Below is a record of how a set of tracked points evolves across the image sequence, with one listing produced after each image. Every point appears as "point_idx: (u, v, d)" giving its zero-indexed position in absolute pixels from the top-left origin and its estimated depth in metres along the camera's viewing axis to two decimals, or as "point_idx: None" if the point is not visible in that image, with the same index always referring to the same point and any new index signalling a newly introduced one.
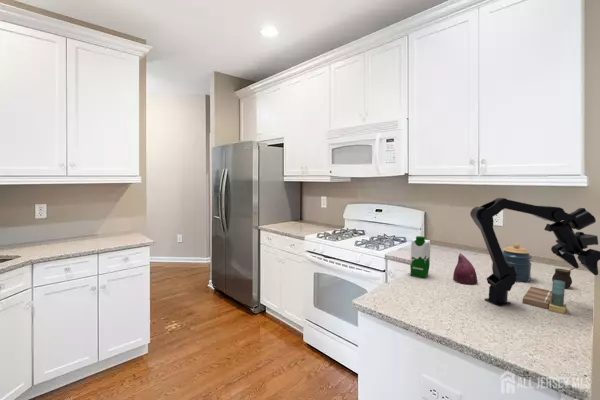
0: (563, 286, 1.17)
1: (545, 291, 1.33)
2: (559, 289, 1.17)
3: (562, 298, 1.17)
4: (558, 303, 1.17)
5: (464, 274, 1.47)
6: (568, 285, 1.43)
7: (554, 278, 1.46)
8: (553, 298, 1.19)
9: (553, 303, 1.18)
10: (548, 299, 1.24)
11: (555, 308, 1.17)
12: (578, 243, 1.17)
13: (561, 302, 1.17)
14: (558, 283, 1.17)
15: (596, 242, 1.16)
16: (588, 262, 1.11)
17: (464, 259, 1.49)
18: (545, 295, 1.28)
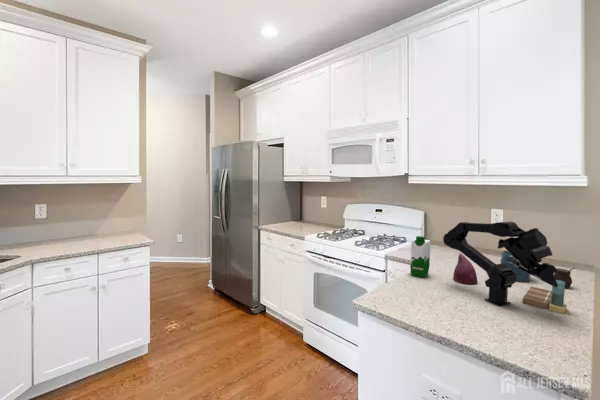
0: (563, 286, 1.17)
1: (545, 291, 1.33)
2: (559, 289, 1.17)
3: (562, 298, 1.17)
4: (558, 303, 1.17)
5: (464, 274, 1.47)
6: (568, 285, 1.43)
7: None
8: (553, 298, 1.19)
9: (553, 303, 1.18)
10: (548, 299, 1.24)
11: (555, 308, 1.17)
12: (532, 258, 1.16)
13: (561, 302, 1.17)
14: (558, 283, 1.17)
15: (549, 253, 1.15)
16: (543, 278, 1.10)
17: (464, 259, 1.49)
18: (545, 295, 1.28)
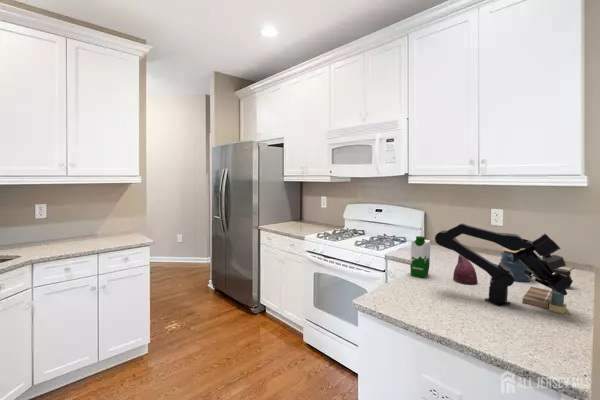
0: None
1: (545, 291, 1.33)
2: None
3: (562, 298, 1.17)
4: (558, 303, 1.17)
5: (464, 274, 1.47)
6: (568, 285, 1.43)
7: None
8: (553, 298, 1.19)
9: (553, 303, 1.18)
10: (548, 299, 1.24)
11: (555, 308, 1.17)
12: (546, 268, 1.16)
13: (561, 302, 1.17)
14: None
15: (563, 264, 1.16)
16: (559, 290, 1.10)
17: (464, 259, 1.49)
18: (545, 295, 1.28)
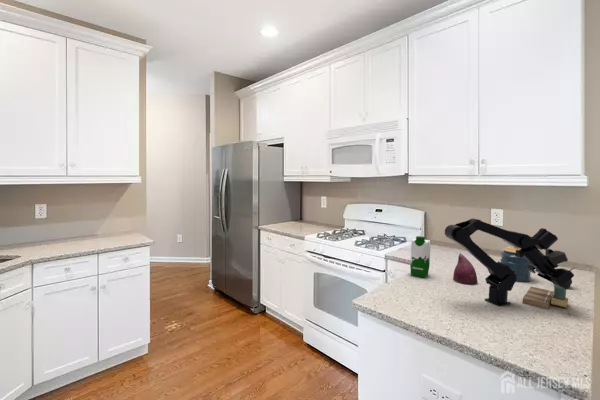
0: None
1: (545, 291, 1.33)
2: None
3: (564, 292, 1.21)
4: (560, 297, 1.22)
5: (464, 274, 1.47)
6: (568, 285, 1.43)
7: None
8: (555, 292, 1.23)
9: (555, 297, 1.23)
10: (548, 299, 1.24)
11: (557, 301, 1.21)
12: (548, 263, 1.21)
13: (563, 296, 1.21)
14: None
15: (565, 259, 1.20)
16: (560, 283, 1.14)
17: (464, 259, 1.49)
18: (545, 295, 1.28)
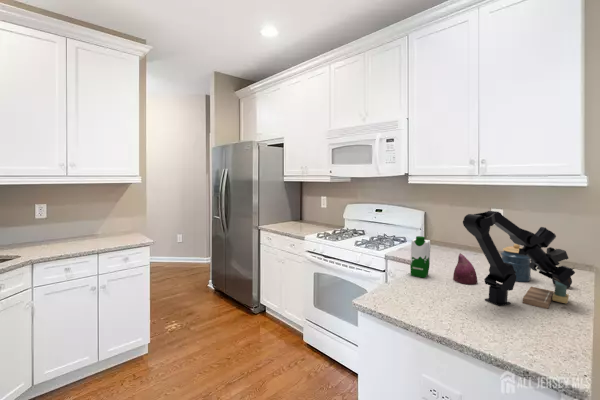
0: None
1: (545, 291, 1.33)
2: None
3: (565, 289, 1.26)
4: (561, 293, 1.26)
5: (464, 274, 1.47)
6: None
7: None
8: (556, 289, 1.27)
9: (556, 293, 1.27)
10: (548, 299, 1.24)
11: (558, 298, 1.25)
12: (550, 261, 1.25)
13: (564, 292, 1.26)
14: None
15: (566, 257, 1.24)
16: (562, 280, 1.18)
17: (464, 259, 1.49)
18: (545, 295, 1.28)
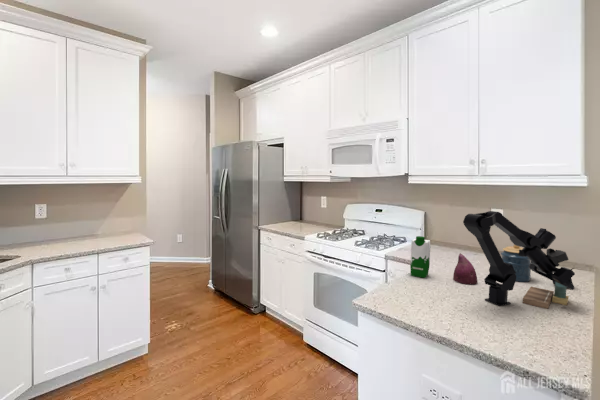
0: None
1: (545, 291, 1.33)
2: None
3: (564, 290, 1.26)
4: (561, 295, 1.26)
5: (464, 274, 1.47)
6: None
7: None
8: (556, 290, 1.27)
9: (556, 295, 1.27)
10: (548, 299, 1.24)
11: (558, 299, 1.25)
12: (550, 262, 1.25)
13: (563, 294, 1.26)
14: None
15: (566, 258, 1.24)
16: (562, 282, 1.18)
17: (464, 259, 1.49)
18: (545, 295, 1.28)
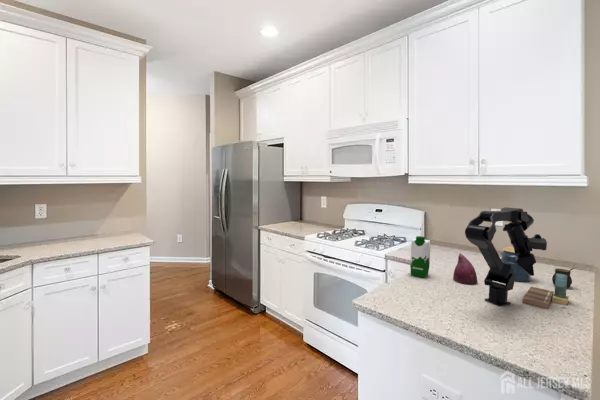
0: (565, 279, 1.25)
1: (545, 291, 1.33)
2: (562, 282, 1.25)
3: (564, 290, 1.26)
4: (561, 295, 1.26)
5: (464, 274, 1.47)
6: (568, 285, 1.43)
7: (554, 278, 1.46)
8: (556, 290, 1.27)
9: (556, 295, 1.27)
10: (548, 299, 1.24)
11: (558, 299, 1.25)
12: (524, 245, 1.26)
13: (563, 294, 1.26)
14: (561, 276, 1.26)
15: (543, 248, 1.23)
16: (518, 264, 1.23)
17: (464, 259, 1.49)
18: (545, 295, 1.28)
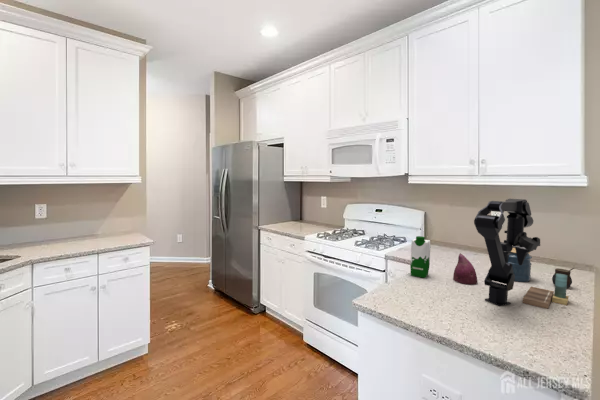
0: (565, 279, 1.25)
1: (545, 291, 1.33)
2: (562, 282, 1.25)
3: (564, 290, 1.26)
4: (561, 295, 1.26)
5: (464, 274, 1.47)
6: (568, 285, 1.43)
7: (554, 278, 1.46)
8: (556, 290, 1.27)
9: (556, 295, 1.27)
10: (548, 299, 1.24)
11: (558, 299, 1.25)
12: (513, 237, 1.28)
13: (563, 294, 1.26)
14: (561, 276, 1.26)
15: (527, 247, 1.23)
16: None
17: (464, 259, 1.49)
18: (545, 295, 1.28)
